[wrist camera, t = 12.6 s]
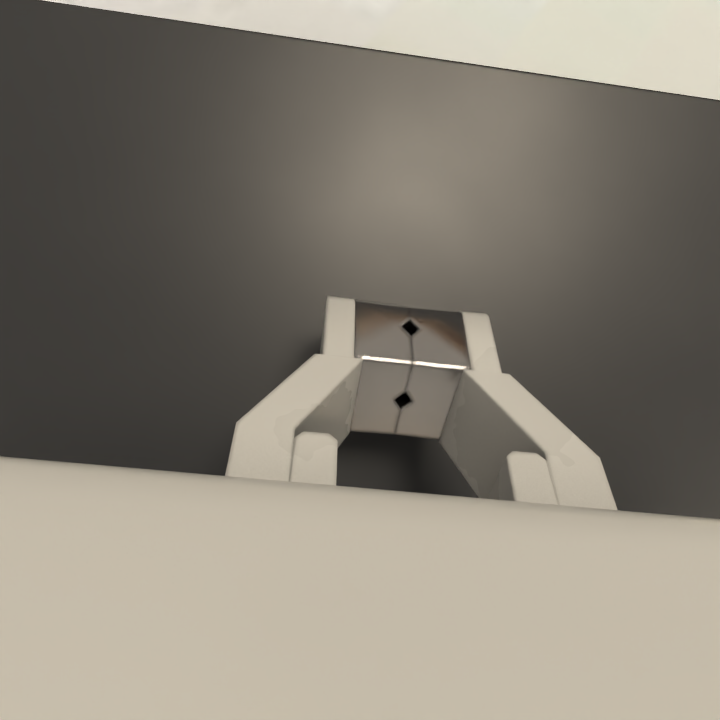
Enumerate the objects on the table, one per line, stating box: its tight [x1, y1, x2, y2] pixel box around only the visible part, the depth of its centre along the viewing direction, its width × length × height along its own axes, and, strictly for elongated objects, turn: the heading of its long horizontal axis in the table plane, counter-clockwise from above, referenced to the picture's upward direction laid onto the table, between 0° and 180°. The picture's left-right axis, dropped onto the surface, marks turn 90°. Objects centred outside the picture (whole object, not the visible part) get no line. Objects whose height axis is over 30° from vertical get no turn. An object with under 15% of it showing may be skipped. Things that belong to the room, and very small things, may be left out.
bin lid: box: [0, 0, 720, 519], centre depth 14 cm, size 15×18×1 cm
